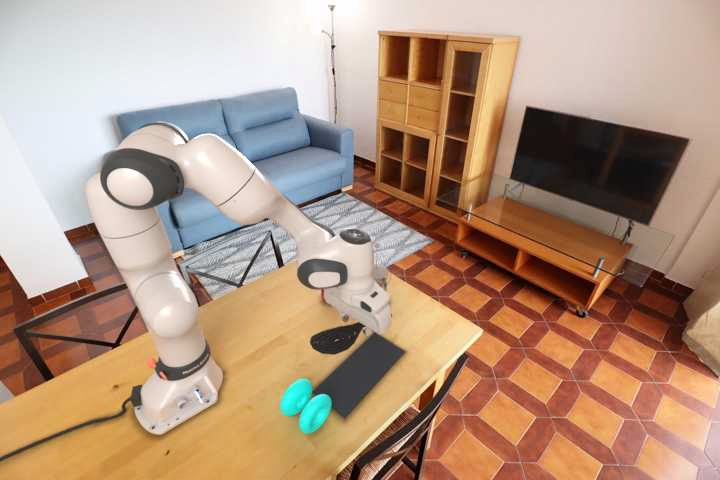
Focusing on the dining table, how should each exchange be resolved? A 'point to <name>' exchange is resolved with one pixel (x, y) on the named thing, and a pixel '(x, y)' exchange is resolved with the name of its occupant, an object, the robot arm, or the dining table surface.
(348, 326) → the hairbrush
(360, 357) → the placemat
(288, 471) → the dining table surface
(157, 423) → the robot arm
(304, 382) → the cyan yo-yo
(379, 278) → the french press
